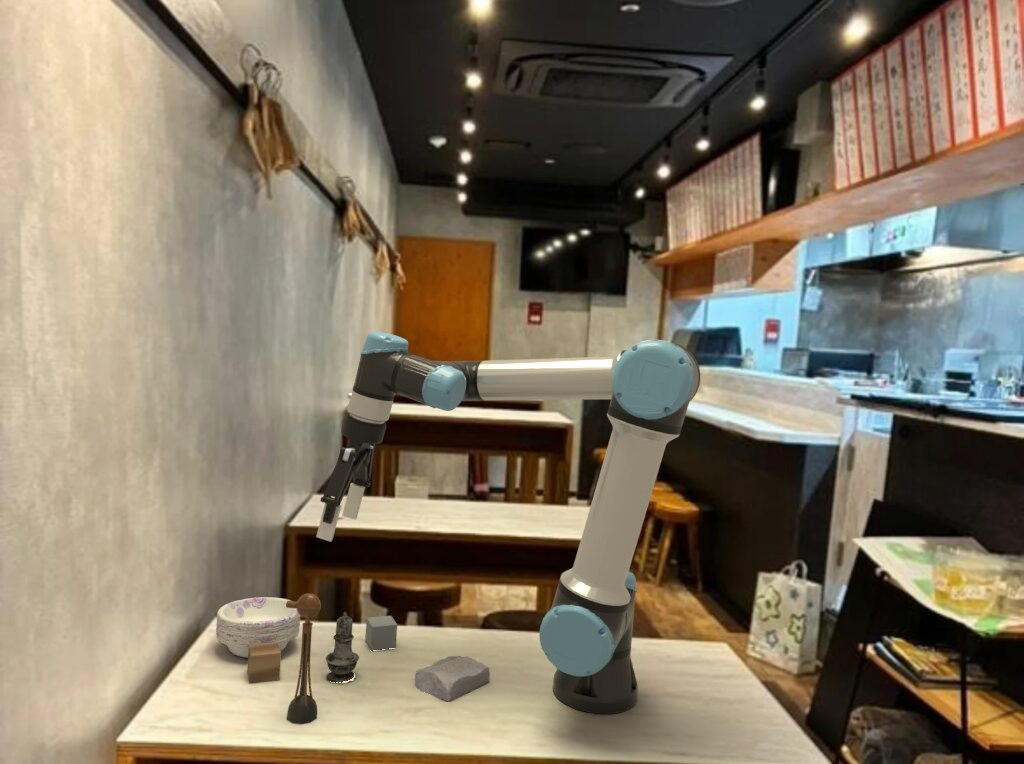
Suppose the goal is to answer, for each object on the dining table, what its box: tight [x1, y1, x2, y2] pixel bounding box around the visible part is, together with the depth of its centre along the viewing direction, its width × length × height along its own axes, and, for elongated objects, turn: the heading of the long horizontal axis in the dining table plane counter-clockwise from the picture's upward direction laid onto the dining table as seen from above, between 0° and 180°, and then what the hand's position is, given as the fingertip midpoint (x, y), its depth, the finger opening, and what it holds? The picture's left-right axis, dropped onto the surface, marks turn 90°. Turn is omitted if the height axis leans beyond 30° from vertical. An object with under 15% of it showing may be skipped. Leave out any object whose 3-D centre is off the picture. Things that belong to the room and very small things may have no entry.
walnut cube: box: [246, 642, 282, 684], centre depth 131 cm, size 5×5×5 cm
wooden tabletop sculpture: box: [286, 593, 322, 725], centre depth 118 cm, size 6×5×20 cm
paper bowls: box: [215, 596, 301, 659], centre depth 142 cm, size 15×15×8 cm
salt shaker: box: [325, 611, 360, 684], centre depth 133 cm, size 6×6×12 cm
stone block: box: [414, 655, 491, 702], centre depth 134 cm, size 12×5×10 cm
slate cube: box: [364, 615, 398, 652], centre depth 148 cm, size 5×5×5 cm
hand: (337, 527), depth 135 cm, fingers open, 13 cm apart
